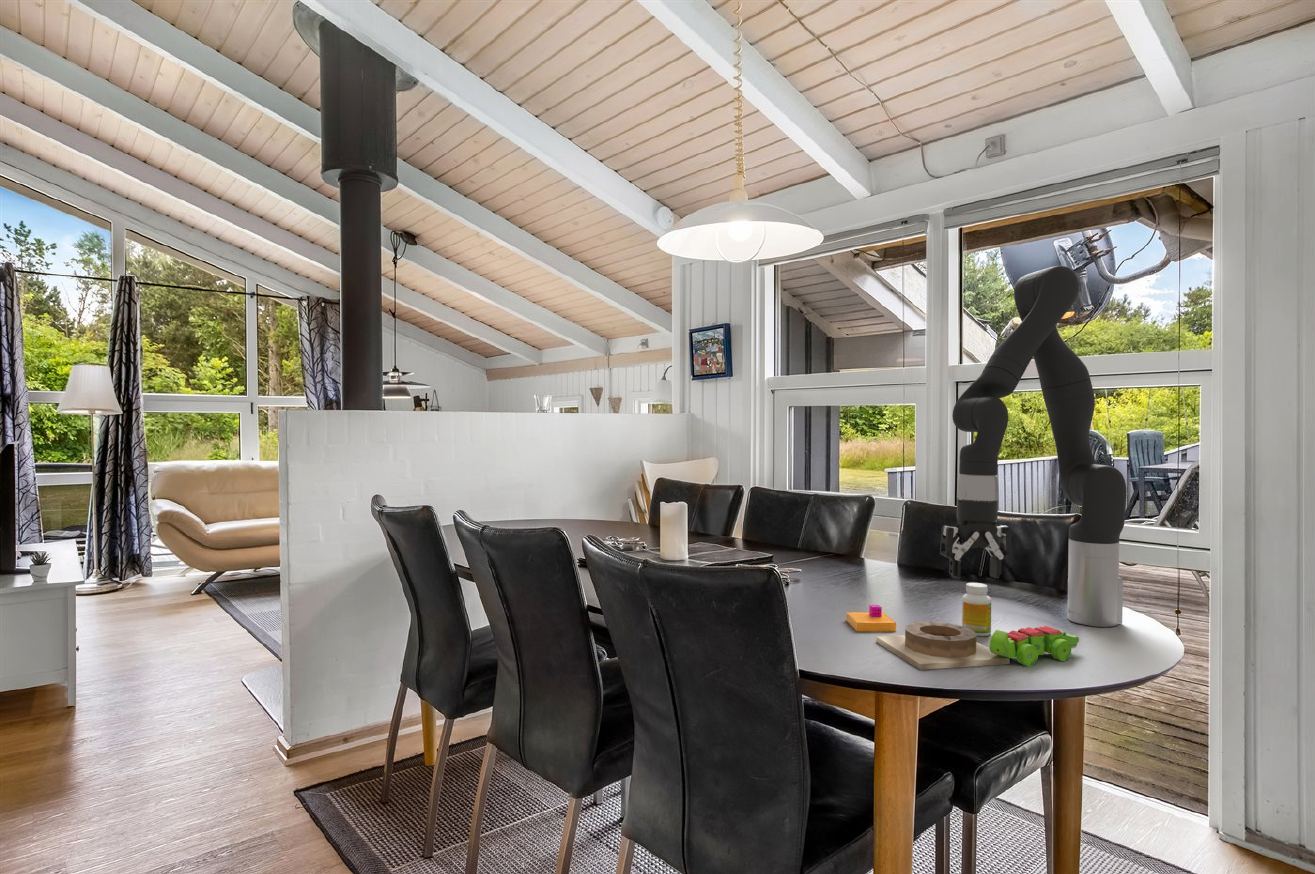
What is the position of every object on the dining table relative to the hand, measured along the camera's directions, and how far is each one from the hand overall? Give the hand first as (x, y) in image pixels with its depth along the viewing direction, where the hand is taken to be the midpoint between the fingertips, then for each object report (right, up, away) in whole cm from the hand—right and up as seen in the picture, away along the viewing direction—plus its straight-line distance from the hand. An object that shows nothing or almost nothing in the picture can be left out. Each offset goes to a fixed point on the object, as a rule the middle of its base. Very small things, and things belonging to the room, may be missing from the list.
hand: (974, 577), depth 149 cm
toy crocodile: (+4, -12, -15) cm, 20 cm away
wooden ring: (-12, -10, -12) cm, 20 cm away
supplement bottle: (0, -11, 0) cm, 11 cm away
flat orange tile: (-19, -12, +5) cm, 23 cm away
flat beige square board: (-12, -11, -12) cm, 20 cm away
